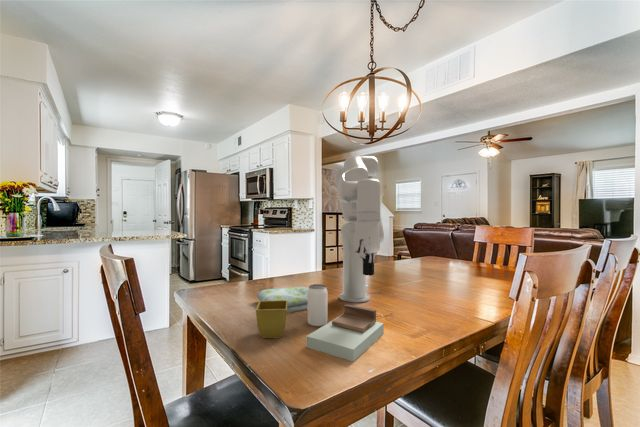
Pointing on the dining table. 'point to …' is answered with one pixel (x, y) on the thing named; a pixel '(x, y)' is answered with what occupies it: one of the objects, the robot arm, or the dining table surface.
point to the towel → (287, 297)
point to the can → (317, 305)
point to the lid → (356, 318)
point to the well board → (344, 340)
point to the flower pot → (271, 318)
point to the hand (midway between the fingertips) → (368, 274)
